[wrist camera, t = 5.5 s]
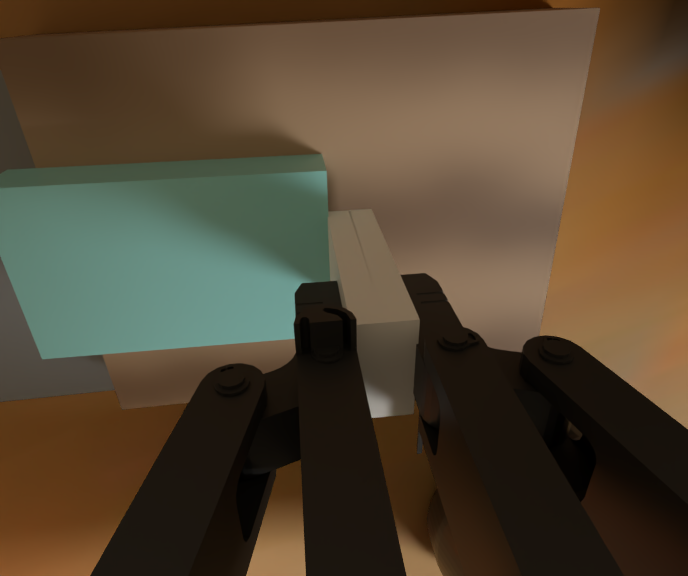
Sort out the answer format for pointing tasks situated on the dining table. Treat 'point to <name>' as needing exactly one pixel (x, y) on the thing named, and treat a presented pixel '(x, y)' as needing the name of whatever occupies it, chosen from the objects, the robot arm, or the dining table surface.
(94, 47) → the brown flat block
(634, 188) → the dining table surface
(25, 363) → the mat
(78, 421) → the dining table surface
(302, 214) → the card
